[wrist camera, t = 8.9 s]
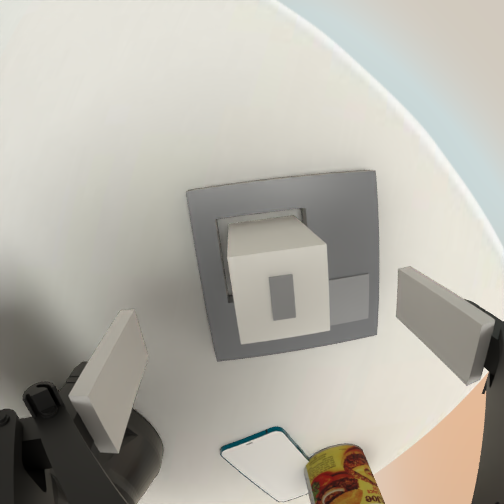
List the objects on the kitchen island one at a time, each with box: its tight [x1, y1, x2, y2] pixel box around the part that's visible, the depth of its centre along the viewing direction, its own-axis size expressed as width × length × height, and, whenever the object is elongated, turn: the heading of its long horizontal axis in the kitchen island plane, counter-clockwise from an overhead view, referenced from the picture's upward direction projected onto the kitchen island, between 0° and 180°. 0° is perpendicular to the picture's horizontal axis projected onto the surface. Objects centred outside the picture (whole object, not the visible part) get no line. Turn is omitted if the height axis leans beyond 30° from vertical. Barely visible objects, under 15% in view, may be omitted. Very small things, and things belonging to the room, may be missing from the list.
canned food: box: [304, 444, 385, 504], centre depth 27 cm, size 8×8×12 cm
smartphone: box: [220, 427, 309, 502], centre depth 33 cm, size 8×1×16 cm
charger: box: [227, 215, 330, 344], centre depth 21 cm, size 5×5×9 cm
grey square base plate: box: [186, 170, 379, 362], centre depth 25 cm, size 14×14×2 cm
